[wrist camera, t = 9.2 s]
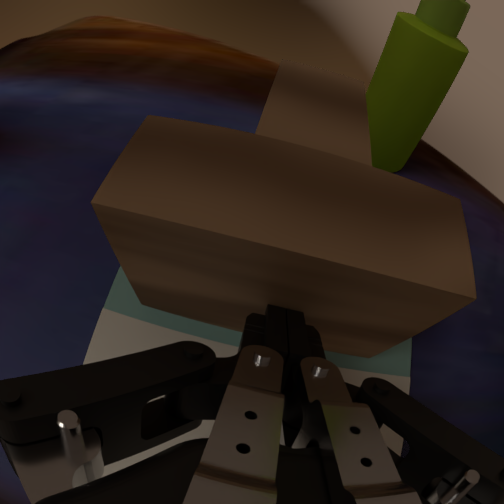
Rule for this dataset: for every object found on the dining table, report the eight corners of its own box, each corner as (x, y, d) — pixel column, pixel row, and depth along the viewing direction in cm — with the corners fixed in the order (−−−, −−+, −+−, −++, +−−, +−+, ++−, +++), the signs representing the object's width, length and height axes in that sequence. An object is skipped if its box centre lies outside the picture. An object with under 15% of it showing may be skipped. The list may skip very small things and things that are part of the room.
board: (344, 611, 9) (349, 617, 8) (50, 555, 9) (43, 560, 8) (401, 212, 24) (407, 205, 23) (178, 156, 24) (177, 146, 23)
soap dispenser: (359, 116, 30) (425, -56, 12) (413, 158, 28) (504, -15, 10) (326, 134, 27) (395, -73, 10) (387, 182, 25) (496, -28, 8)
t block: (369, 358, 17) (476, 298, 9) (141, 304, 17) (91, 202, 9) (374, 202, 22) (431, 108, 15) (202, 158, 23) (205, 46, 15)
